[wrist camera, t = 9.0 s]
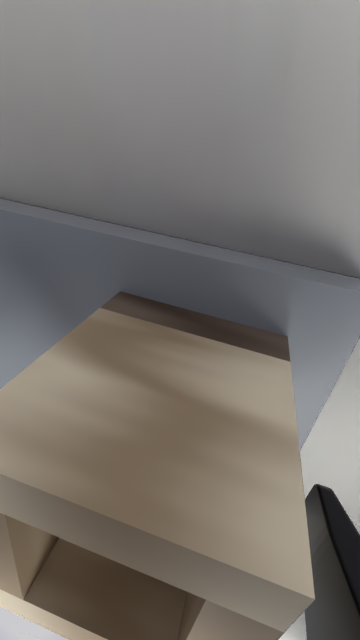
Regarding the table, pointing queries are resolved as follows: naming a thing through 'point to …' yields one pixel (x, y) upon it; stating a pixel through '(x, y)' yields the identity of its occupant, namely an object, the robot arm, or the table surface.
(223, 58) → the table surface
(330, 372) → the pin board
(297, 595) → the sleeve
